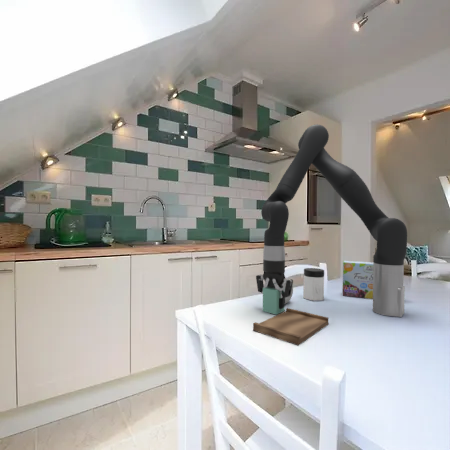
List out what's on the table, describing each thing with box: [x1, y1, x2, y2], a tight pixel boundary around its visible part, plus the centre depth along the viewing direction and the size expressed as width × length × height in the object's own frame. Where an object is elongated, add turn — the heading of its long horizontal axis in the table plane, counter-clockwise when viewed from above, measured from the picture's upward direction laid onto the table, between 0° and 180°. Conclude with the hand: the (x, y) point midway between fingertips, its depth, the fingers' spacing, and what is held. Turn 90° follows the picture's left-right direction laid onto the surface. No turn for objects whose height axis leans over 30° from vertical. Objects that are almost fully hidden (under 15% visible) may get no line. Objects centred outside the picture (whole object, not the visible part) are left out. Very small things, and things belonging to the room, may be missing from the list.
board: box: [252, 307, 329, 346], centre depth 80 cm, size 14×20×2 cm
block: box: [262, 287, 285, 316], centre depth 95 cm, size 6×6×8 cm
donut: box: [283, 277, 294, 305], centre depth 105 cm, size 10×4×10 cm, turn 135°
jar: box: [302, 267, 325, 302], centre depth 113 cm, size 9×8×12 cm
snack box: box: [341, 260, 373, 300], centre depth 116 cm, size 21×6×15 cm, turn 68°
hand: (273, 306), depth 95 cm, fingers closed on block, 5 cm apart
